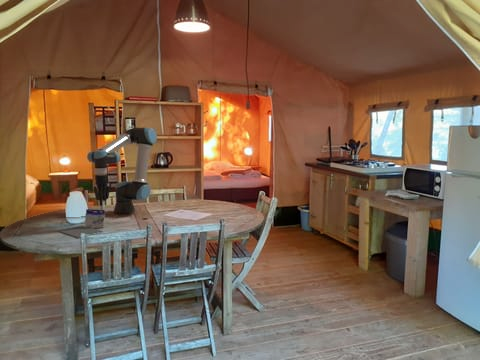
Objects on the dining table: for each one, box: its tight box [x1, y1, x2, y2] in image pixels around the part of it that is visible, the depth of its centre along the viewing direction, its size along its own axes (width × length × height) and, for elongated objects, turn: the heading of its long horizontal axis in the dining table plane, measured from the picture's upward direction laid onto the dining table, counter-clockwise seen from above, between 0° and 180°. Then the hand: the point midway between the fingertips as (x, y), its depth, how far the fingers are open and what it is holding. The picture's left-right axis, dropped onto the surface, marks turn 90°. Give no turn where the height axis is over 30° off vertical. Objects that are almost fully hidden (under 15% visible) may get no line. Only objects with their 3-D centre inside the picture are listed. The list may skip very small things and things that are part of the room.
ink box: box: [84, 208, 106, 229], centre depth 237 cm, size 12×2×12 cm, turn 104°
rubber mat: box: [57, 224, 103, 239], centre depth 230 cm, size 16×22×1 cm
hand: (102, 210), depth 241 cm, fingers closed
